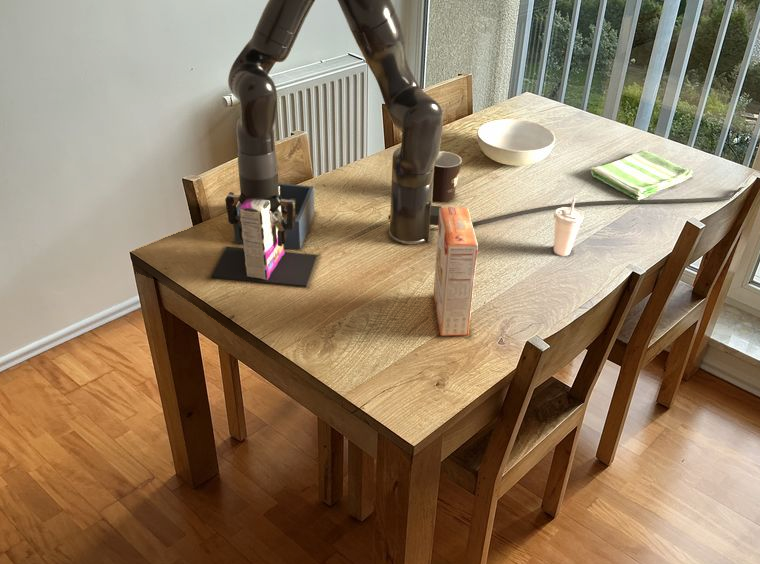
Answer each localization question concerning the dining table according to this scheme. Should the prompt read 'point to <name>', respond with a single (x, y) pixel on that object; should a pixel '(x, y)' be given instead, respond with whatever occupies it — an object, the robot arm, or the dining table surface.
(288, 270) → the rubber mat
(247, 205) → the candy bar box
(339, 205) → the dining table surface
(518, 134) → the serving bowl
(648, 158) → the dish towel
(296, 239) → the open storage bin
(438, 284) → the cracker box
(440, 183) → the coffee mug
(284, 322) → the dining table surface
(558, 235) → the smoothie
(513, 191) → the dining table surface
